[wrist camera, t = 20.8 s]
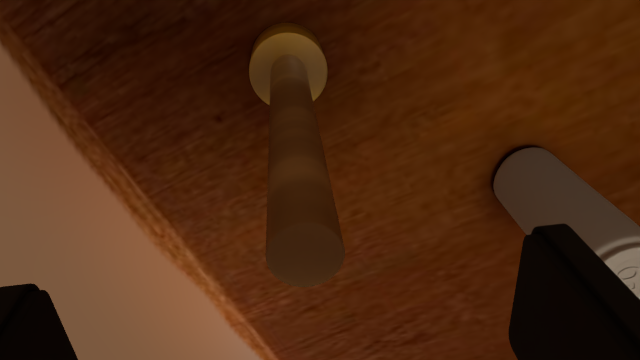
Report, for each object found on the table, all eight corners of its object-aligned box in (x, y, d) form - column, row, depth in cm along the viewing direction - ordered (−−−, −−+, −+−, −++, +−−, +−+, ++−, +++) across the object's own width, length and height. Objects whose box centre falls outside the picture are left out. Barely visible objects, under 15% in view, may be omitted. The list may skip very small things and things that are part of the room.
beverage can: (492, 210, 36) (581, 329, 26) (487, 153, 34) (582, 258, 24) (556, 194, 36) (672, 307, 26) (555, 136, 34) (682, 233, 23)
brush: (246, 25, 29) (202, 189, 11) (320, 19, 29) (391, 170, 11) (256, 97, 31) (231, 330, 13) (325, 90, 31) (391, 312, 14)
